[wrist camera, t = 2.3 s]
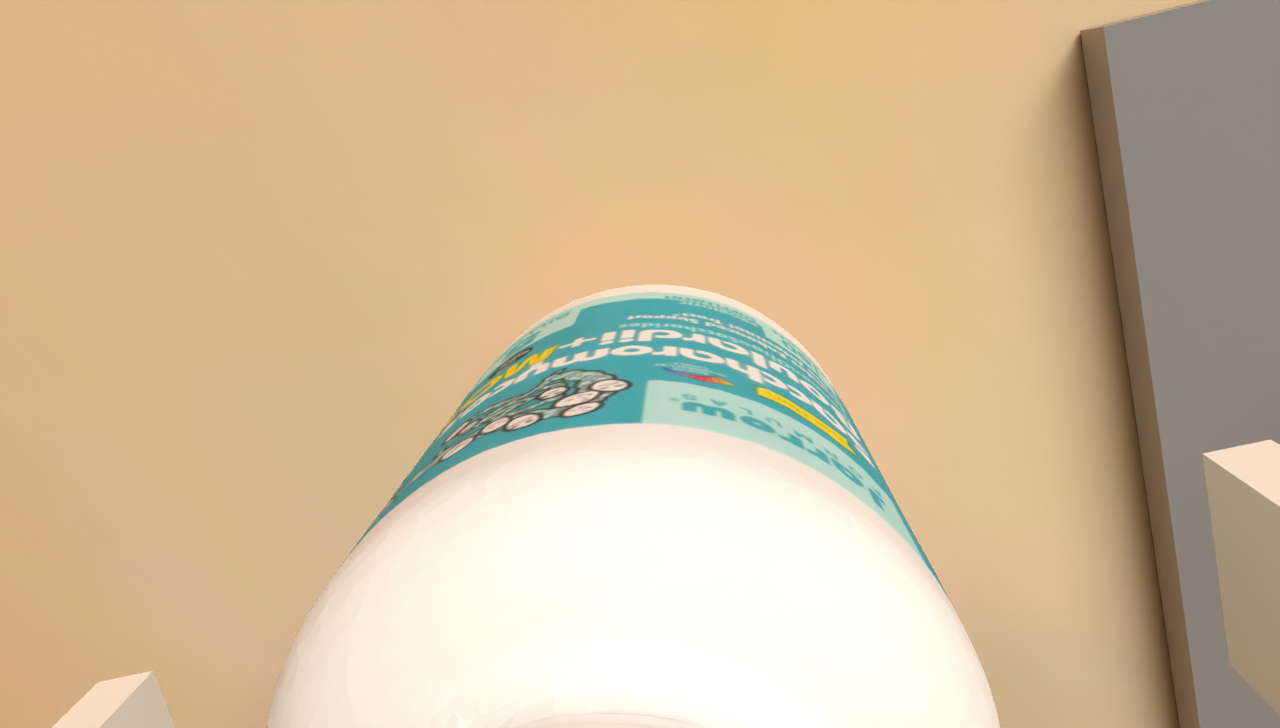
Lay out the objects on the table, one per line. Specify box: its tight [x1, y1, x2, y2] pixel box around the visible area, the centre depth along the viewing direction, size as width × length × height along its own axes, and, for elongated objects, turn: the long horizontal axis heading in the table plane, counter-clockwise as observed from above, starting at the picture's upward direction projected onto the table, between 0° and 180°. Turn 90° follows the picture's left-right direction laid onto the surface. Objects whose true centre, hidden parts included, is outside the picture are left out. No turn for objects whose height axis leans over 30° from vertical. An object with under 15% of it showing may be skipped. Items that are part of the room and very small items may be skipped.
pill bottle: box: [267, 285, 1000, 728], centre depth 14 cm, size 8×7×14 cm
